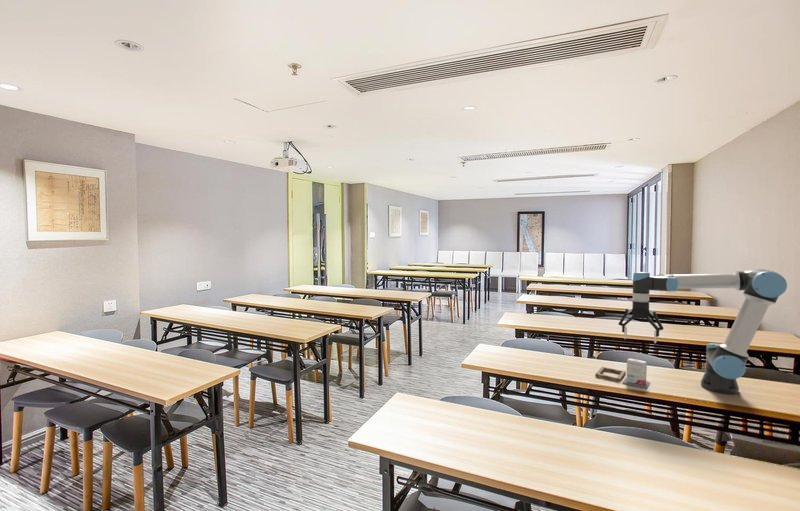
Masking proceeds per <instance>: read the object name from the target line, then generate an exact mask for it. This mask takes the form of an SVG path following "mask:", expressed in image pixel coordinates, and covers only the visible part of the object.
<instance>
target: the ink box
mask: <svg viewBox="0 0 800 511" xmlns="http://www.w3.org/2000/svg"><path fill="white" fill-rule="evenodd" d="M647 364H648V361H646V360H645V361H644V360H641V359H636V358H635V359H634V358H630V357H628V359H627V360H626V377H627V382H631V383H636V384H641V385H645V384H646V381H647V371H648V370H647V366H648V365H647Z"/></svg>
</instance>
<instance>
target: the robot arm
mask: <svg viewBox="0 0 800 511" xmlns="http://www.w3.org/2000/svg"><path fill="white" fill-rule="evenodd" d="M650 273H651V272H649V271H635V272H634V273H633V276H632V307H631V308H632V309H630V308H628V307H627V308H626V309H625V312H624V314H623V316H622V317H621V318H620V320H619V322H618V326H620V327H621V331H622V333H623V336H624V339H623V340H626V339H627V338H628V337H627V335H628V326H627V324H629V323H630V322H631V321H632V320H633V319H641V320H645V319H646V321H648V322H649V324H650V325H651V327H653V328H654V336H653V337H654V340H653V343H654V344H656V343H657V337H659V336H660V331H664V325H663V324H662V322H661V321H660V319H659V317H658V315H657V311H655V310H653V311H652V310H650V292H651V291H655V292H656V291H657V292H670V293H671V292H677V291H678V290H679V289H735V290H736V291H743V293H742V294H743V296H744V298H745V299H744V301H743V302H742V305H741V307H740V309H739V311H738V313H737V315H736V317H735V320H734V322H733V323H732V326H731V328H730V331H729V332H728V334H727V337H726V338H725V340H724V342H723V343H712V342H710V343H707V344H706V348H705V349H706V354H705V356H706V357H705V358H706V360H705V371H704V373H703V376H702V378H701V380H700V385H701V387H702V388H704V389H706V390H708V391H712V392H716V393H721V394H727V395H728V394H729V395H736V394H739V392H740V387H739V384H738V382H737V379H739V378H740V379H741V378H742V377H743V376H744V374H745V373H746V368H747V366H746V363H747V361H748V360H749V357H750V355H749V354H748V350H749V347H750V345H751V344H752V341H753V339H754V338H755V335H756V333H757V331H758V329H759V327H760V325H761V323H762V321H763V319H764V317H765V315H766V313H767V310H768V309H769V307H770V306H771V305H775V304H776V303H777V301H778V299H779V297H780V296H782V295H783V294H784V293H785V292H786V290H787V288H788V283H787V280H786V279H785V277H784V276H783V275H781V274H780V273H778V272H777V271H773V270H767V269H759V268H758V269H751V270H742V271H741V270H739V271H734V272H731V273H698V274H697V273H692V274H691V273H688V274H687V273H686V274H685V273H684V274H683V273H682V274H680V273H679V274H677V273H676V274H662V273H660V274H657V275H656V276H654V275H651V274H650ZM630 313H632V315H631V316H630V318H628V319H627V320H626V321H625V322H624V320H625V319H626V318H627V316H628V314H630ZM650 315H651V316H653V318H654V321H655V322H656V323H657V324H656V323H655V322H654V321H653V319H651V317H650ZM623 322H624V323H623Z"/></svg>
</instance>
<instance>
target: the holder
mask: <svg viewBox="0 0 800 511" xmlns="http://www.w3.org/2000/svg"><path fill="white" fill-rule="evenodd" d="M604 372H609V373H613V374H618V376H611V375H608V374H607V375H606V374H603V373H604ZM625 376H627V370H621V369H616V368H611V367H606V366H601V367H600V369H598V370H597V372H595V378H599V379H603V380H607V381H612V382H617V383H620V382H621V381H622V380H623V378H624V377H625Z"/></svg>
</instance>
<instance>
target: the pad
mask: <svg viewBox="0 0 800 511" xmlns="http://www.w3.org/2000/svg"><path fill="white" fill-rule="evenodd" d="M622 384H623V385H627V386H631V387H635V388H641V389H643V390H644V389H645V390H648V387H649V385H650V384H651V382H650V381H647V380H646V384H645V385H641V384H636V383H631V382H627V376H626V377H625V379H624V380H623V382H622Z"/></svg>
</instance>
